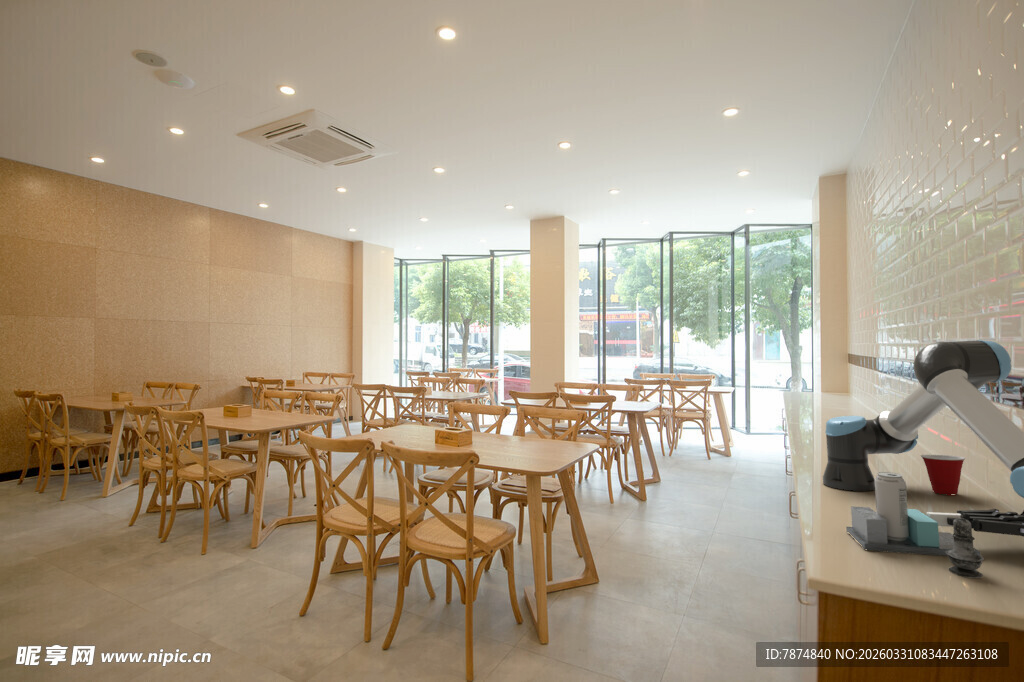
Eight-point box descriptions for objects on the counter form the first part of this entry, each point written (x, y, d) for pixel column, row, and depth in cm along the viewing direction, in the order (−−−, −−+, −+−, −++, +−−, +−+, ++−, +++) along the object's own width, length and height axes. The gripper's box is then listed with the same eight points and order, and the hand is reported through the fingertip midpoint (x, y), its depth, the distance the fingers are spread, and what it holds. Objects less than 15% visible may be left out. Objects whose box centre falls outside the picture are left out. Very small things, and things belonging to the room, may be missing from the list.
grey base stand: (846, 532, 127) (845, 505, 128) (950, 538, 121) (948, 509, 121) (864, 550, 116) (863, 520, 116) (980, 558, 110) (978, 526, 110)
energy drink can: (881, 530, 124) (877, 470, 124) (911, 536, 119) (908, 474, 120) (874, 537, 120) (871, 474, 120) (906, 543, 115) (902, 478, 116)
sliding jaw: (898, 530, 123) (897, 508, 124) (917, 531, 122) (916, 509, 122) (918, 545, 114) (916, 521, 114) (939, 547, 113) (937, 522, 113)
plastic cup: (956, 489, 162) (954, 452, 162) (975, 498, 152) (972, 459, 152) (916, 487, 165) (914, 451, 166) (932, 496, 155) (929, 458, 156)
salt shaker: (939, 567, 106) (935, 510, 106) (964, 565, 106) (960, 509, 107) (966, 579, 100) (962, 519, 100) (993, 577, 100) (989, 517, 101)
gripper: (1079, 552, 104) (944, 545, 111) (1033, 531, 117) (915, 525, 123) (1076, 516, 105) (942, 511, 111) (1031, 499, 117) (913, 495, 124)
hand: (928, 518), depth 117 cm, fingers closed
